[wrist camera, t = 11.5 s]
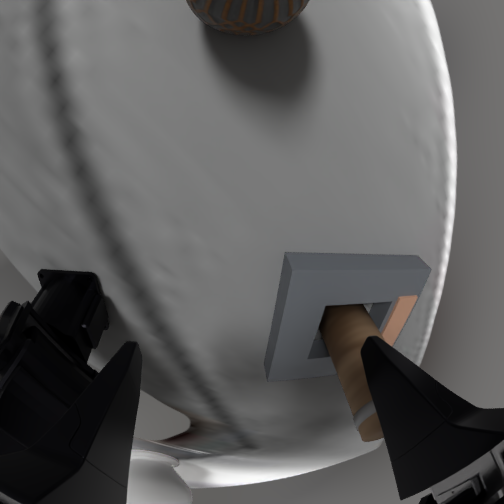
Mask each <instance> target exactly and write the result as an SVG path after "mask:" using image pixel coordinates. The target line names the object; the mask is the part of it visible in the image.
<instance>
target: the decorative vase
mask: <svg viewBox="0 0 504 504" xmlns="http://www.w3.org/2000/svg"><path fill="white" fill-rule="evenodd" d="M178 465H179V460H178V459H176V458H174V457H172V456H169V455H166V454H163V453H159V452H154V451H148V450H138V449H132V450H131V459H130V467H129V477H128V488H127V503H126V504H192V492H191V490H190V488H189V487H188V485H187V484H186V483H185V482H184V480H183V479H182V478H181V477H180V476H179V475H178V474H177V473H176V471H175V470H174V469H173V467H177V466H178Z"/></svg>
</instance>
